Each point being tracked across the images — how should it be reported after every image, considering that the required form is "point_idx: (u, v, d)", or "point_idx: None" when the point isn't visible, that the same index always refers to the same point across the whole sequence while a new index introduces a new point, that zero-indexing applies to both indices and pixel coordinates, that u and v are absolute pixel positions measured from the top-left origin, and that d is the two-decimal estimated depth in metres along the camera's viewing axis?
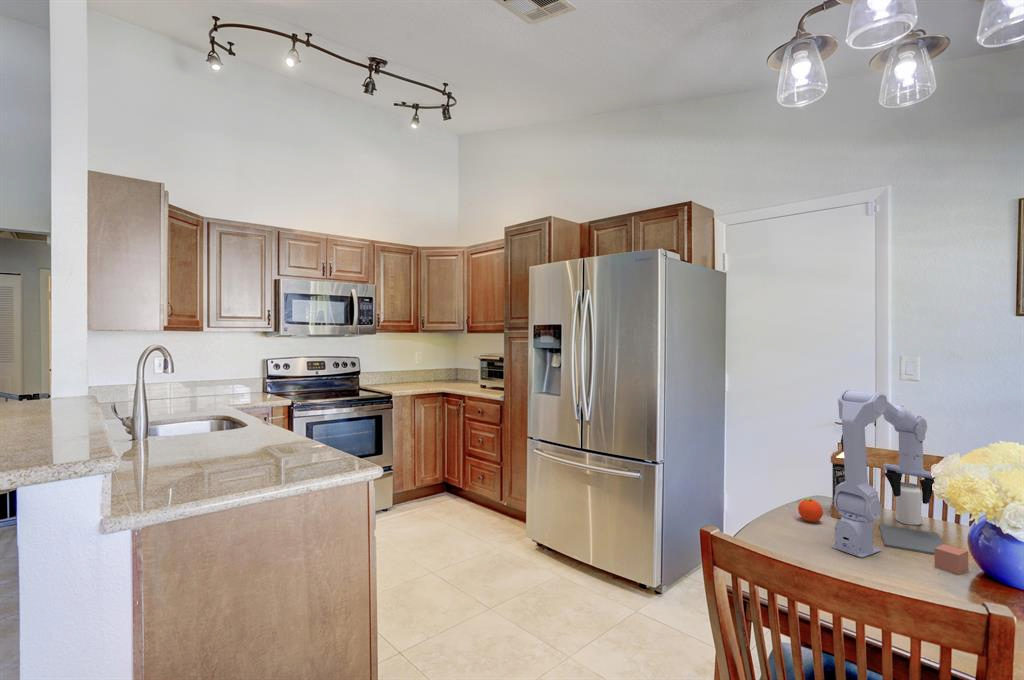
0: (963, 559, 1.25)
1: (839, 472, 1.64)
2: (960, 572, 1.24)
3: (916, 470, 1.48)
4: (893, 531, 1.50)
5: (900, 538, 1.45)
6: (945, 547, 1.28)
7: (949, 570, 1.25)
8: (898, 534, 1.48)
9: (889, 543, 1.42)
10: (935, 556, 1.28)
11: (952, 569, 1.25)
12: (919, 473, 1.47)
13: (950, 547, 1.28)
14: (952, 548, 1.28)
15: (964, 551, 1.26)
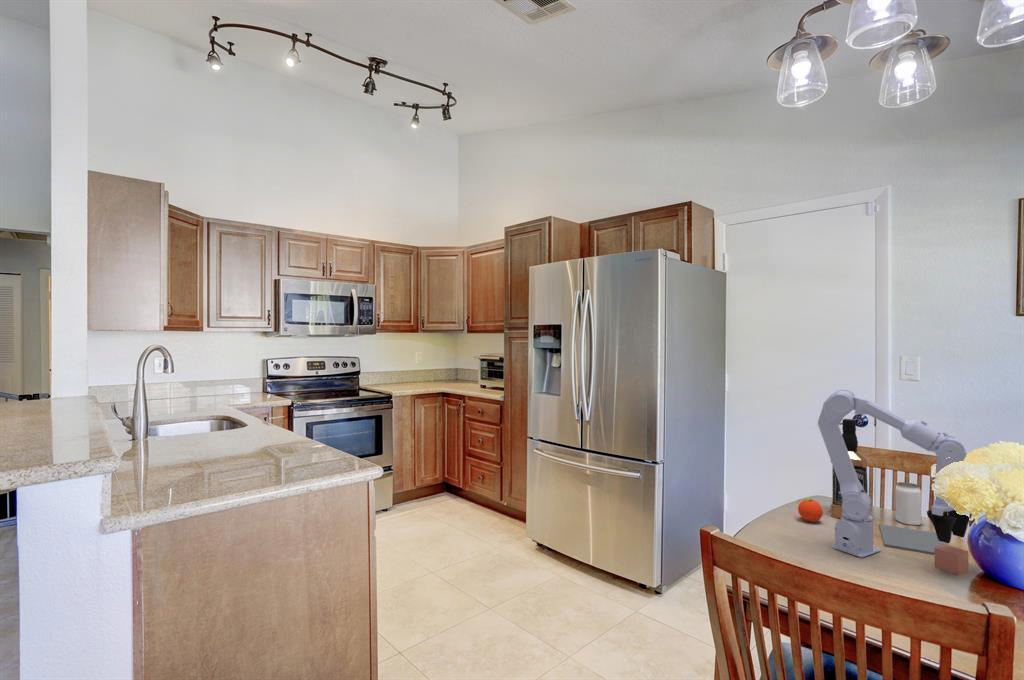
0: (963, 559, 1.25)
1: None
2: (960, 572, 1.24)
3: (938, 501, 1.27)
4: (893, 531, 1.50)
5: (900, 538, 1.45)
6: (945, 547, 1.28)
7: (949, 570, 1.25)
8: (898, 534, 1.48)
9: (889, 543, 1.42)
10: (935, 556, 1.28)
11: (952, 569, 1.25)
12: (934, 503, 1.27)
13: (950, 547, 1.28)
14: (952, 548, 1.28)
15: (964, 551, 1.26)
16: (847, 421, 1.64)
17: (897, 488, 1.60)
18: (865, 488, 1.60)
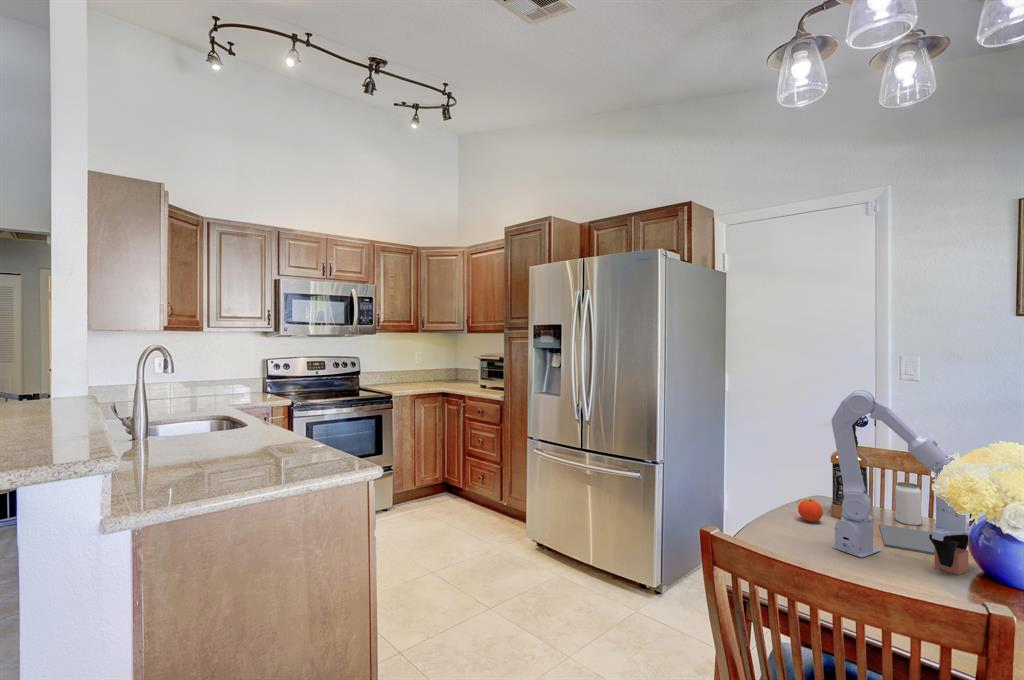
0: (963, 558, 1.25)
1: (839, 472, 1.64)
2: (960, 572, 1.24)
3: (938, 525, 1.27)
4: (893, 531, 1.50)
5: (900, 538, 1.45)
6: None
7: (949, 570, 1.25)
8: (898, 534, 1.48)
9: (889, 543, 1.42)
10: (935, 556, 1.28)
11: (952, 569, 1.25)
12: None
13: None
14: None
15: (964, 551, 1.26)
16: None
17: (897, 488, 1.60)
18: (865, 488, 1.60)
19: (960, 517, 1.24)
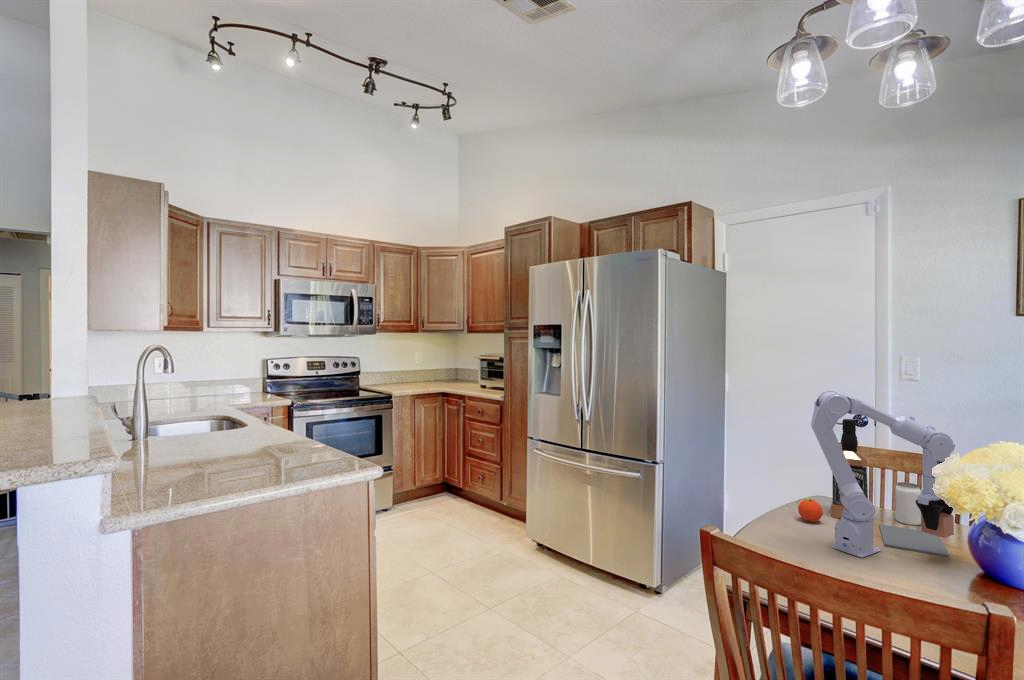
0: (948, 523, 1.30)
1: None
2: (945, 535, 1.30)
3: (924, 491, 1.33)
4: (893, 531, 1.50)
5: (900, 538, 1.45)
6: None
7: (935, 533, 1.31)
8: (898, 534, 1.48)
9: (889, 543, 1.42)
10: (922, 520, 1.34)
11: (937, 532, 1.30)
12: None
13: None
14: None
15: (949, 515, 1.31)
16: (847, 421, 1.64)
17: (897, 488, 1.60)
18: (865, 488, 1.60)
19: None
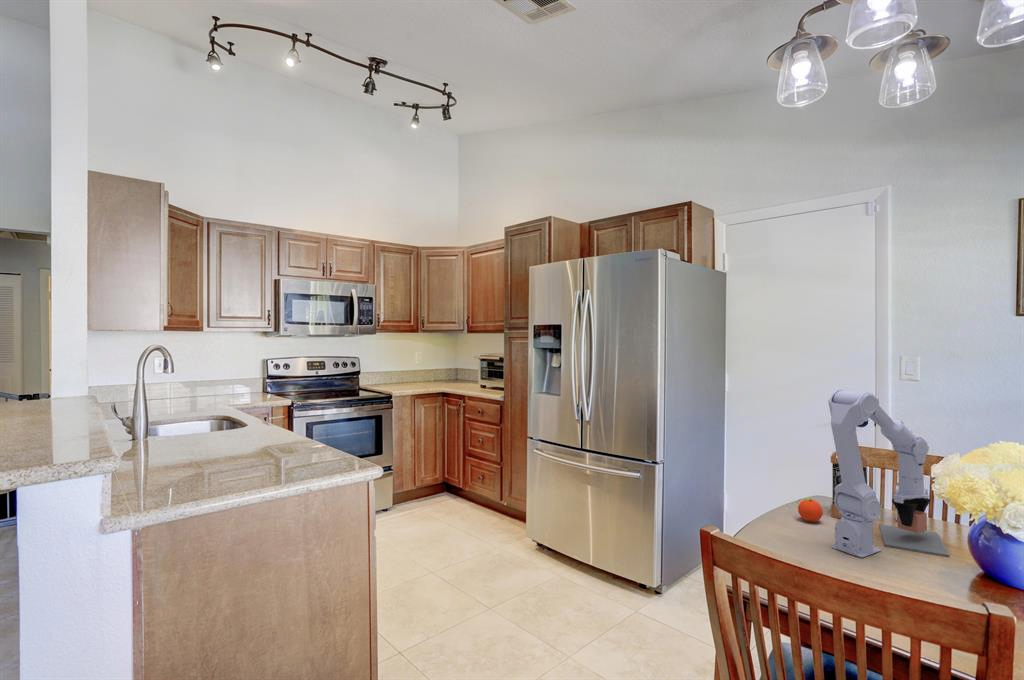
0: (921, 519, 1.43)
1: (839, 472, 1.64)
2: (919, 530, 1.42)
3: (900, 490, 1.45)
4: (893, 531, 1.50)
5: (900, 538, 1.45)
6: None
7: (909, 529, 1.43)
8: (898, 534, 1.48)
9: (889, 543, 1.42)
10: (898, 518, 1.46)
11: (912, 528, 1.43)
12: (896, 493, 1.45)
13: None
14: None
15: (923, 513, 1.44)
16: None
17: (897, 488, 1.60)
18: None
19: (918, 483, 1.42)
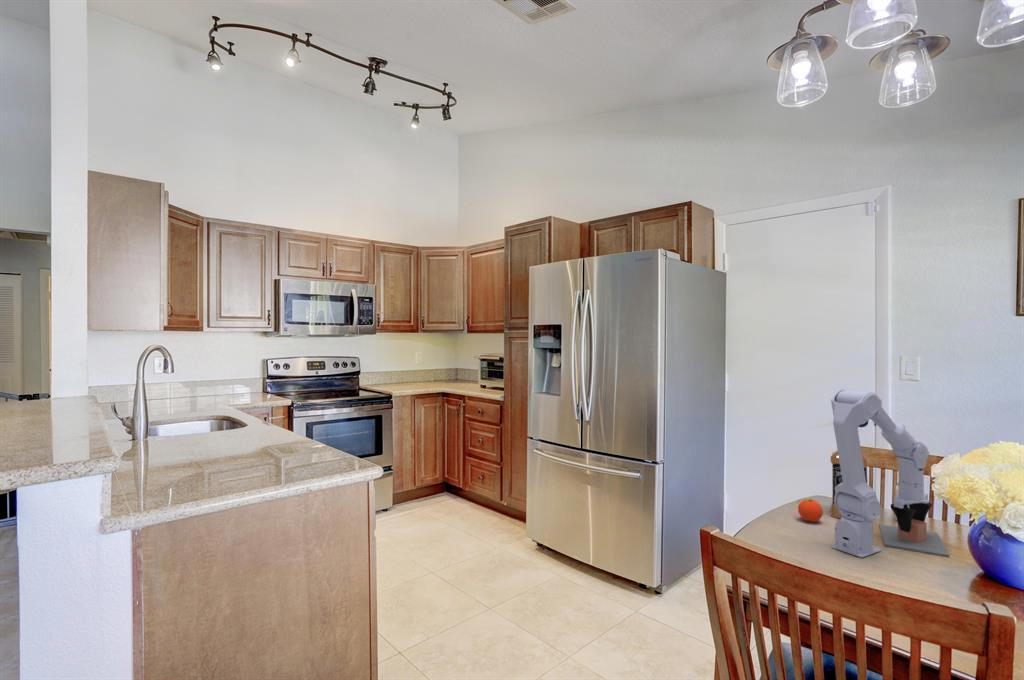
0: (922, 529, 1.43)
1: (839, 472, 1.64)
2: (919, 540, 1.42)
3: (900, 495, 1.45)
4: (893, 531, 1.50)
5: (900, 538, 1.45)
6: None
7: (910, 539, 1.43)
8: None
9: (889, 543, 1.42)
10: (898, 527, 1.46)
11: (912, 538, 1.43)
12: None
13: None
14: (913, 520, 1.45)
15: (923, 522, 1.44)
16: None
17: (897, 488, 1.60)
18: None
19: (918, 488, 1.42)
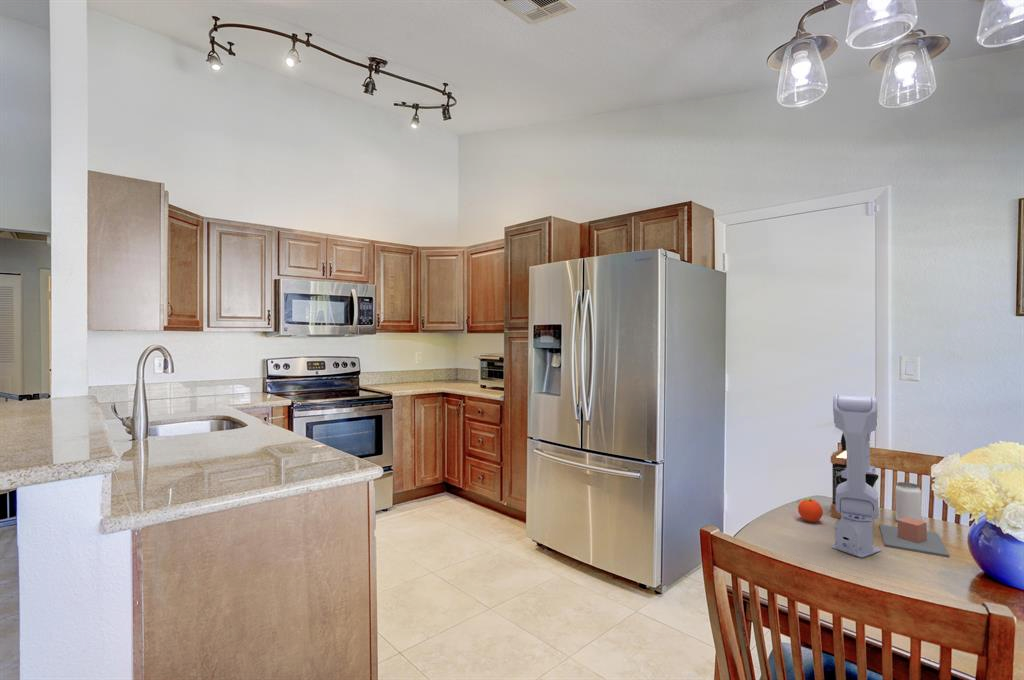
0: (922, 529, 1.43)
1: (839, 472, 1.64)
2: (919, 540, 1.42)
3: None
4: (893, 531, 1.50)
5: (900, 538, 1.45)
6: (907, 519, 1.46)
7: (910, 539, 1.43)
8: None
9: (889, 543, 1.42)
10: (898, 527, 1.46)
11: (912, 538, 1.43)
12: (845, 469, 1.54)
13: (911, 520, 1.46)
14: (913, 520, 1.45)
15: (923, 522, 1.44)
16: None
17: (897, 488, 1.60)
18: None
19: (864, 460, 1.51)
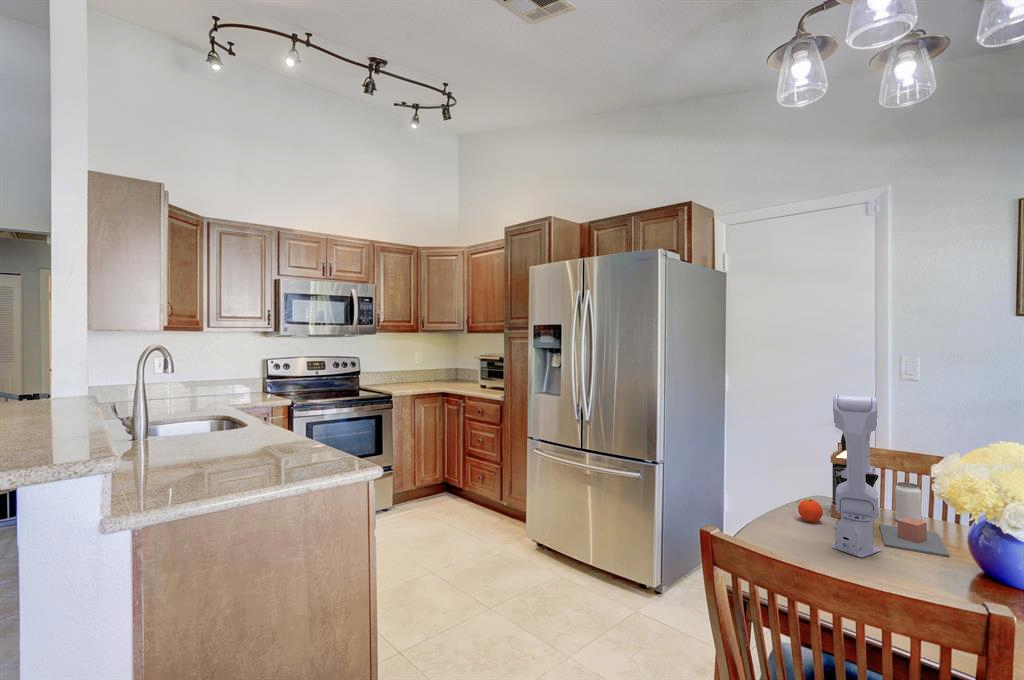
0: (922, 529, 1.43)
1: (839, 472, 1.64)
2: (919, 540, 1.42)
3: None
4: (893, 531, 1.50)
5: (900, 538, 1.45)
6: (907, 519, 1.46)
7: (910, 539, 1.43)
8: None
9: (889, 543, 1.42)
10: (898, 527, 1.46)
11: (912, 538, 1.43)
12: (845, 469, 1.54)
13: (911, 520, 1.46)
14: (913, 520, 1.45)
15: (923, 522, 1.44)
16: None
17: (897, 488, 1.60)
18: None
19: (864, 460, 1.51)
